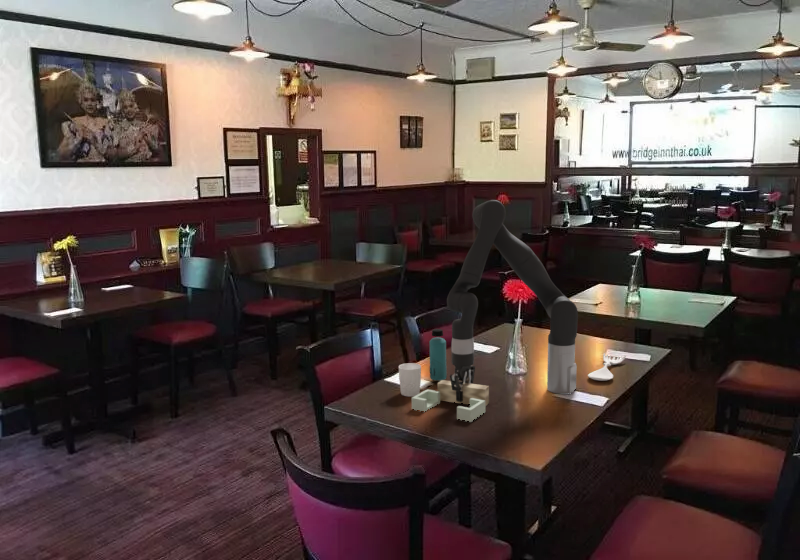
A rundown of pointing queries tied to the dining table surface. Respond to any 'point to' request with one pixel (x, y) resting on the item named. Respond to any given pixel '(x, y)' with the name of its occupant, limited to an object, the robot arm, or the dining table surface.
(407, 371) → the white cup
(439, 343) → the beverage bottle
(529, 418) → the dining table surface
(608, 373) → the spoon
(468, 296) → the robot arm
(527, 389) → the dining table surface
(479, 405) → the end cap
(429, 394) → the end cap
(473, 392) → the wooden block
